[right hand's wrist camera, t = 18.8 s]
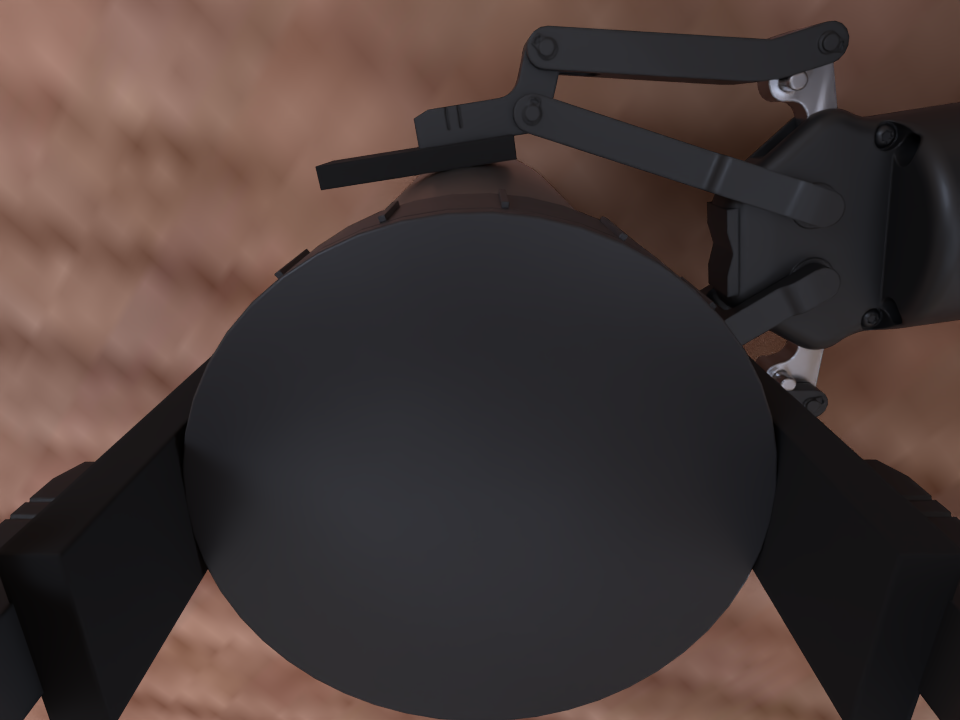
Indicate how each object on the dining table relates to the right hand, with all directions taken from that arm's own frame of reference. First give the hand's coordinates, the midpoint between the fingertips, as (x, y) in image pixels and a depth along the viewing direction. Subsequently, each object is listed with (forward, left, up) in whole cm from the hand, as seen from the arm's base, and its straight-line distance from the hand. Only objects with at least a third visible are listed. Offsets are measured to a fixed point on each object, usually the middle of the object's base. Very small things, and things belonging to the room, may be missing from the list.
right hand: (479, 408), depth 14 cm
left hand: (+2, +4, -10) cm, 11 cm away
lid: (0, 0, +3) cm, 3 cm away
